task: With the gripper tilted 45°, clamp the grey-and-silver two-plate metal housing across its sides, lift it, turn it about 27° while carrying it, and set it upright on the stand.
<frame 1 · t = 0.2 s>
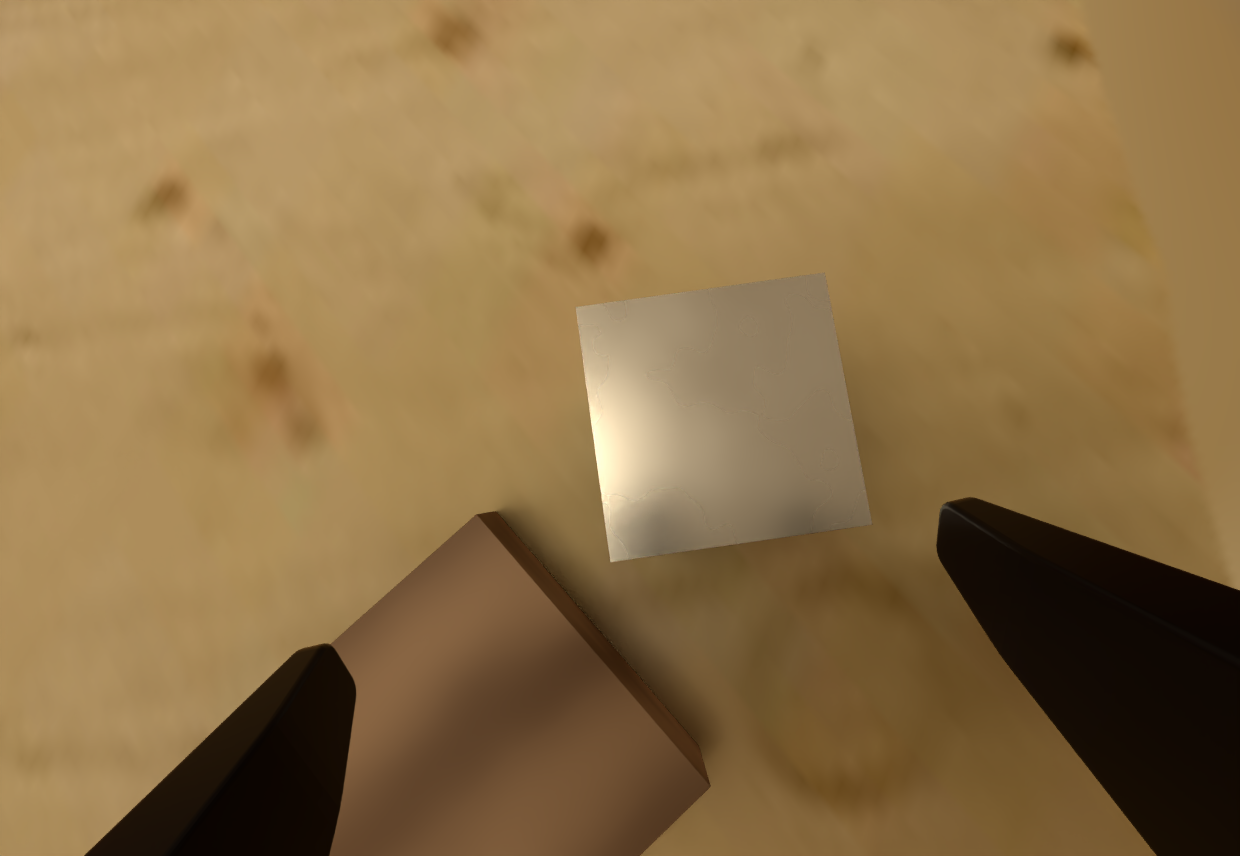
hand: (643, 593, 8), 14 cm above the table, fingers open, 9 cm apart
housing: (673, 450, 23), on the table
stand: (419, 788, 21), on the table
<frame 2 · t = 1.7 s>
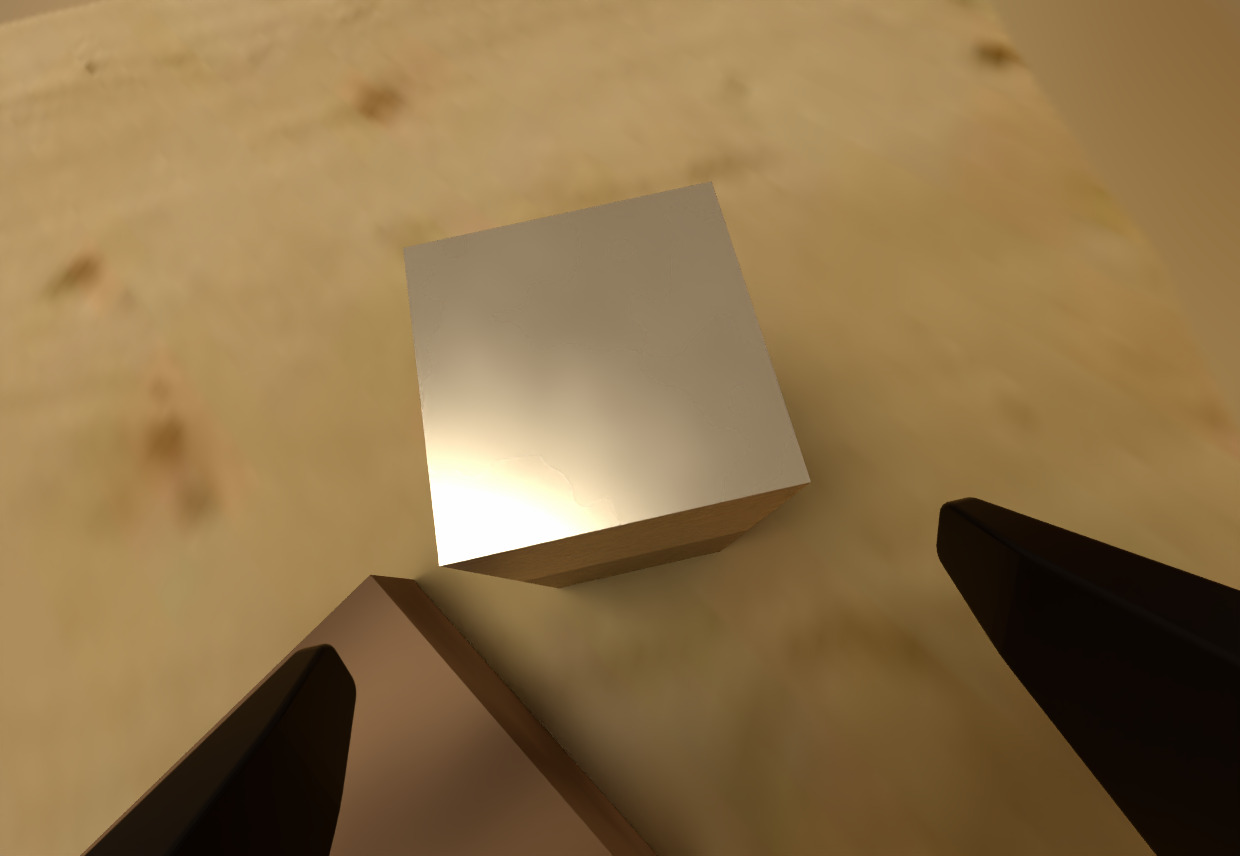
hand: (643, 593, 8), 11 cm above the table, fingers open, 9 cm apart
housing: (621, 489, 19), on the table
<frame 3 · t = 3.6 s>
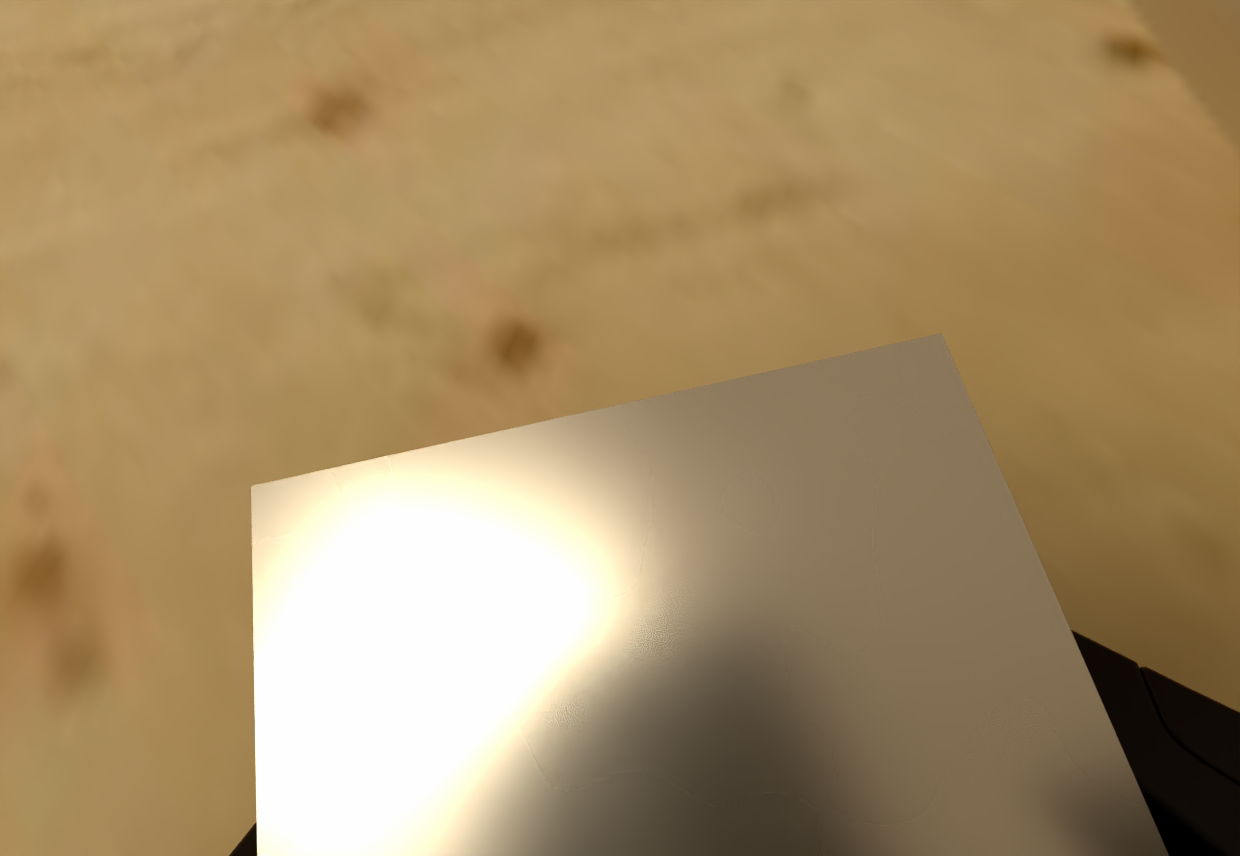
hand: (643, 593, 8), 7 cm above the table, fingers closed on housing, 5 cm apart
housing: (657, 653, 14), on the table, touching gripper
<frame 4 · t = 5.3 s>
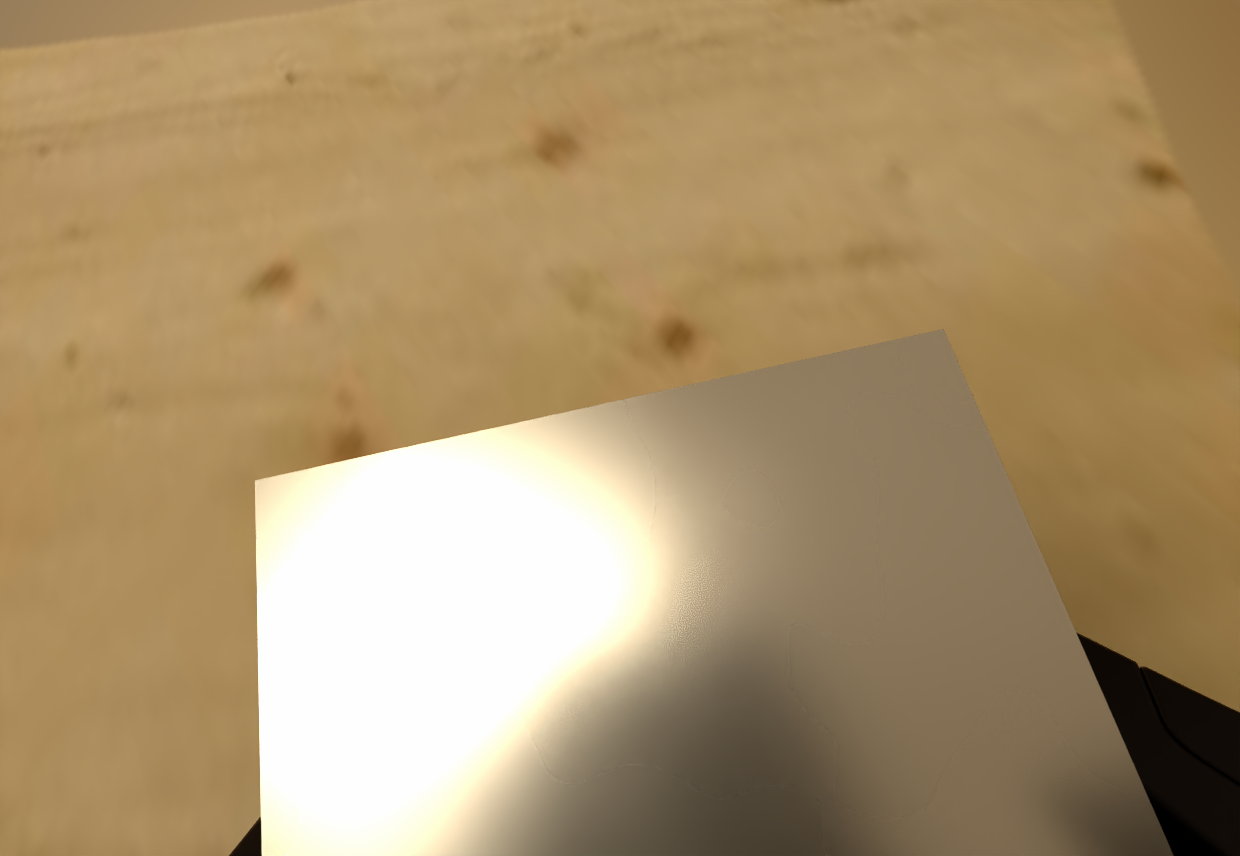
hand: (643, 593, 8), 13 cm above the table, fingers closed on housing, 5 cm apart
housing: (658, 651, 14), point 7 cm above the table, touching gripper
when the fingers open (11 cm above the table, at t = 7.0 s): housing drops 1 cm, resting on stand.
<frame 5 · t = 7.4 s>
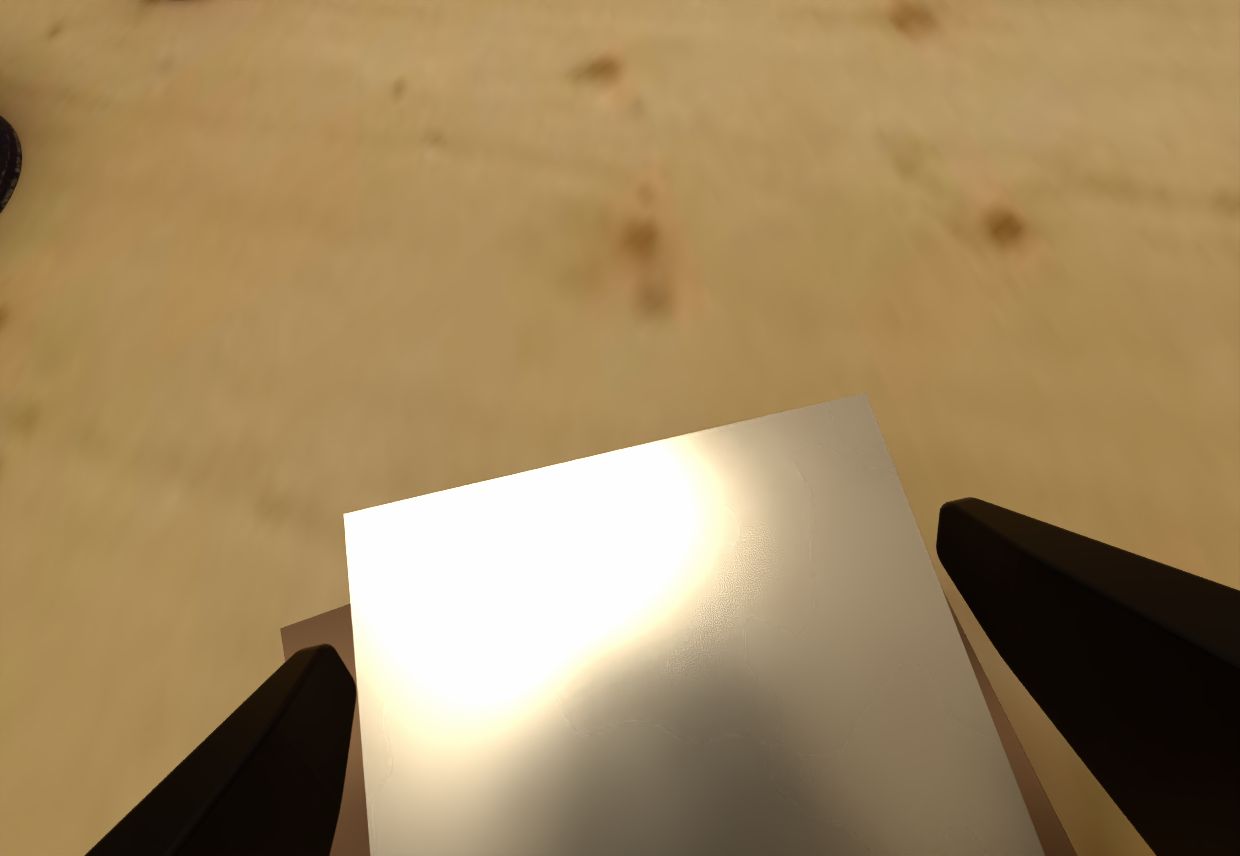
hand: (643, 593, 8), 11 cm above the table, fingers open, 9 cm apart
housing: (656, 647, 15), point 3 cm above the table, touching stand
stand: (647, 715, 18), on the table
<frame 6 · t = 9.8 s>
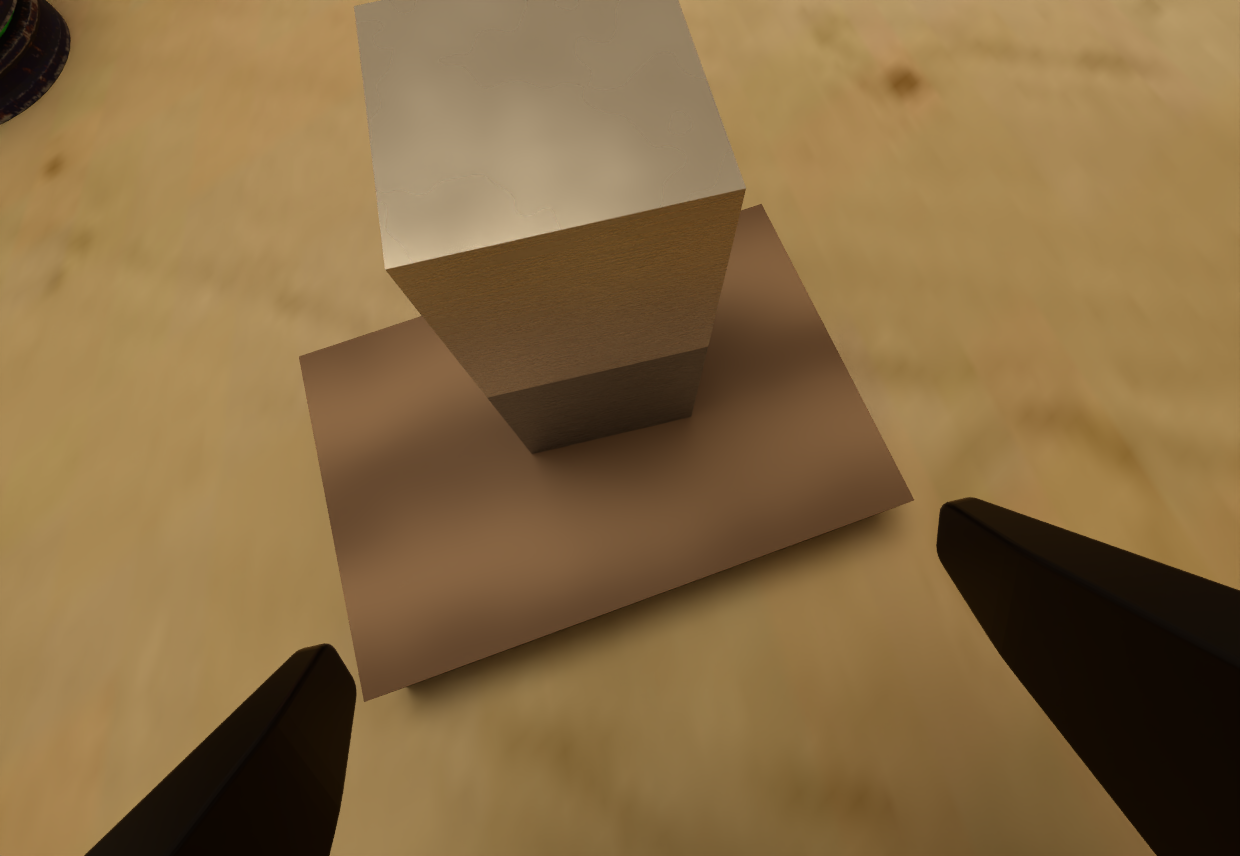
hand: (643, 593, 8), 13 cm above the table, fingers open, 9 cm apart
housing: (594, 362, 20), point 3 cm above the table, touching stand
stand: (594, 446, 22), on the table
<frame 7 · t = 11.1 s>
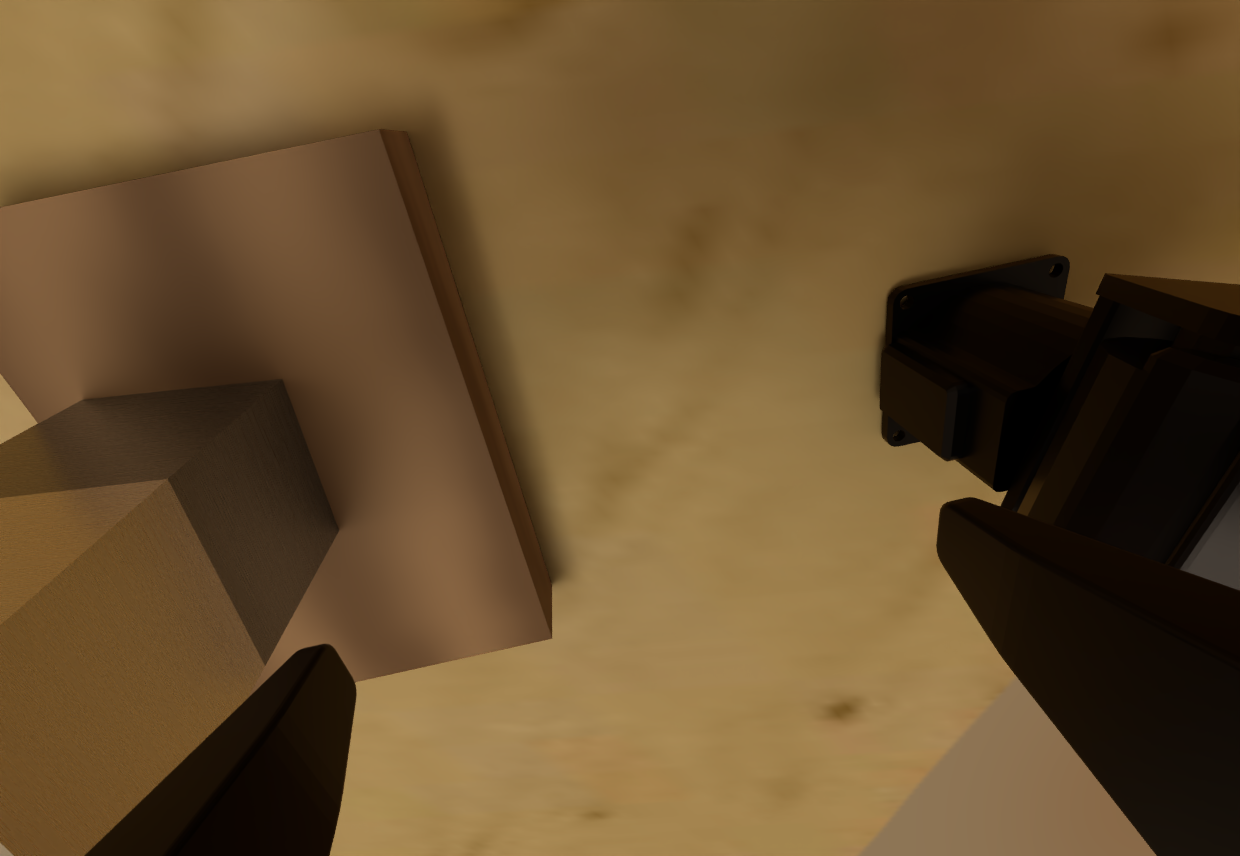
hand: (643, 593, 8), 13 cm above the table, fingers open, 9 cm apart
housing: (221, 470, 17), point 3 cm above the table, touching stand
stand: (332, 438, 20), on the table
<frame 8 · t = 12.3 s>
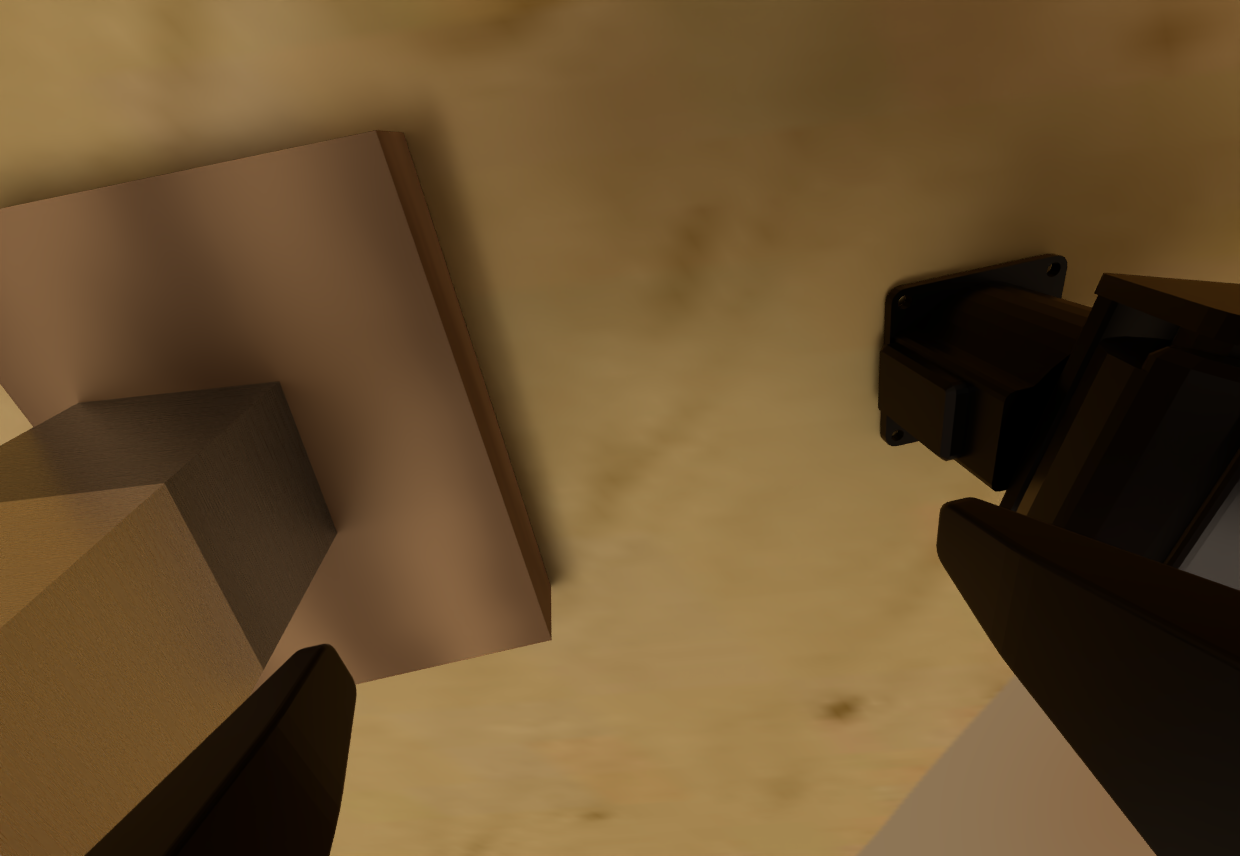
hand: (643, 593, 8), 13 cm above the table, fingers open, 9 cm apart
housing: (218, 473, 17), point 3 cm above the table, touching stand
stand: (330, 441, 20), on the table
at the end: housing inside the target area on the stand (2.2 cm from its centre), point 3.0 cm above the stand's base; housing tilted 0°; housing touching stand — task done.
